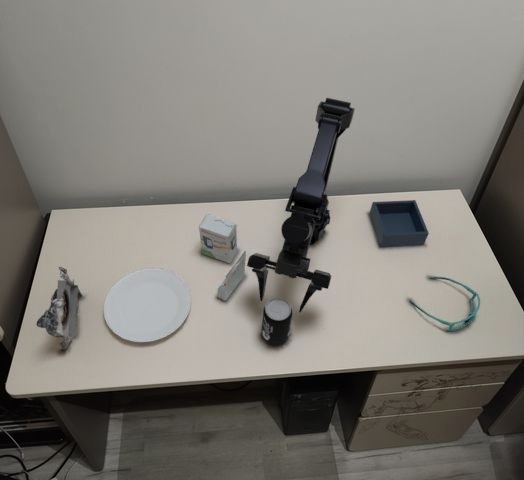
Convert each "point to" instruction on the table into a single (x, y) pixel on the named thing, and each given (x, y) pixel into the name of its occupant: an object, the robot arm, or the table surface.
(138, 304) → the plate
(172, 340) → the table surface
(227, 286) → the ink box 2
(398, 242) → the tub
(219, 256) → the ink box
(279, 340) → the beverage can
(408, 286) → the table surface
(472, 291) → the sunglasses
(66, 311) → the grey ornamental figurine
